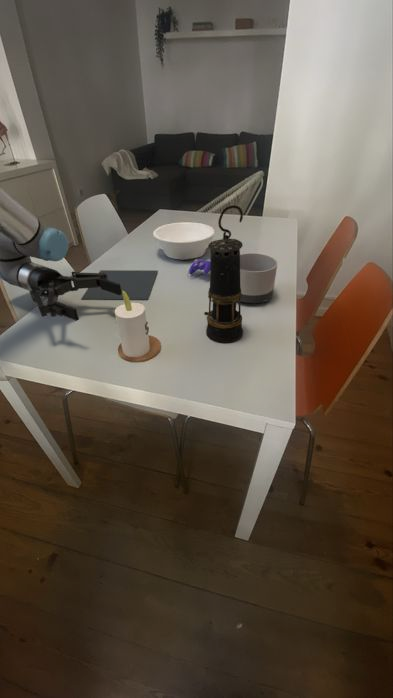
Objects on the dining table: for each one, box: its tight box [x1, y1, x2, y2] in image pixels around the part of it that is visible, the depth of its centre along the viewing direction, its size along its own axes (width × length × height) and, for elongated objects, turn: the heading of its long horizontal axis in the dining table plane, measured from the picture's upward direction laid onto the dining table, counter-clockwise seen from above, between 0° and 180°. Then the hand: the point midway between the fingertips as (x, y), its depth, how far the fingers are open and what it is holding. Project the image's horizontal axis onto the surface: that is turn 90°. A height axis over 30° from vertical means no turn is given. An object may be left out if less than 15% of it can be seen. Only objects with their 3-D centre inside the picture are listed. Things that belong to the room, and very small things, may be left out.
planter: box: [240, 252, 278, 304], centre depth 90 cm, size 13×13×10 cm
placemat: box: [80, 269, 159, 301], centre depth 101 cm, size 20×20×1 cm
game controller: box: [187, 258, 211, 280], centre depth 103 cm, size 10×8×10 cm
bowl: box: [152, 221, 216, 260], centre depth 118 cm, size 22×22×8 cm
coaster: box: [117, 334, 162, 363], centre depth 75 cm, size 10×10×1 cm
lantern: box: [203, 204, 244, 344], centre depth 70 cm, size 9×9×30 cm
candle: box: [114, 291, 150, 358], centre depth 69 cm, size 6×6×15 cm
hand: (99, 301), depth 74 cm, fingers open, 13 cm apart
